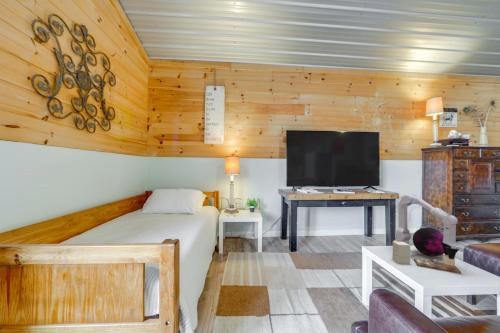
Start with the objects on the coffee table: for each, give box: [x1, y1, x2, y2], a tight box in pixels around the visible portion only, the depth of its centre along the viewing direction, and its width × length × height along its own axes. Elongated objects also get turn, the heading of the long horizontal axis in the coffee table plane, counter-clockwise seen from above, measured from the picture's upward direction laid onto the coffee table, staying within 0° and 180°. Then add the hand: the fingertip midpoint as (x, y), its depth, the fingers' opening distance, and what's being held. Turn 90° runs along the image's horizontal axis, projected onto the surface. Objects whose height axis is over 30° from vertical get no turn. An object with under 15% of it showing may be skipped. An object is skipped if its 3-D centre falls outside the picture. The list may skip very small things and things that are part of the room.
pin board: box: [413, 257, 462, 275], centre depth 140 cm, size 21×11×4 cm, turn 64°
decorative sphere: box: [412, 227, 445, 258], centre depth 159 cm, size 20×20×20 cm
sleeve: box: [442, 254, 456, 268], centre depth 137 cm, size 5×5×6 cm
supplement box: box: [391, 240, 411, 265], centre depth 146 cm, size 7×7×13 cm
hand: (448, 256), depth 137 cm, fingers open, 7 cm apart
